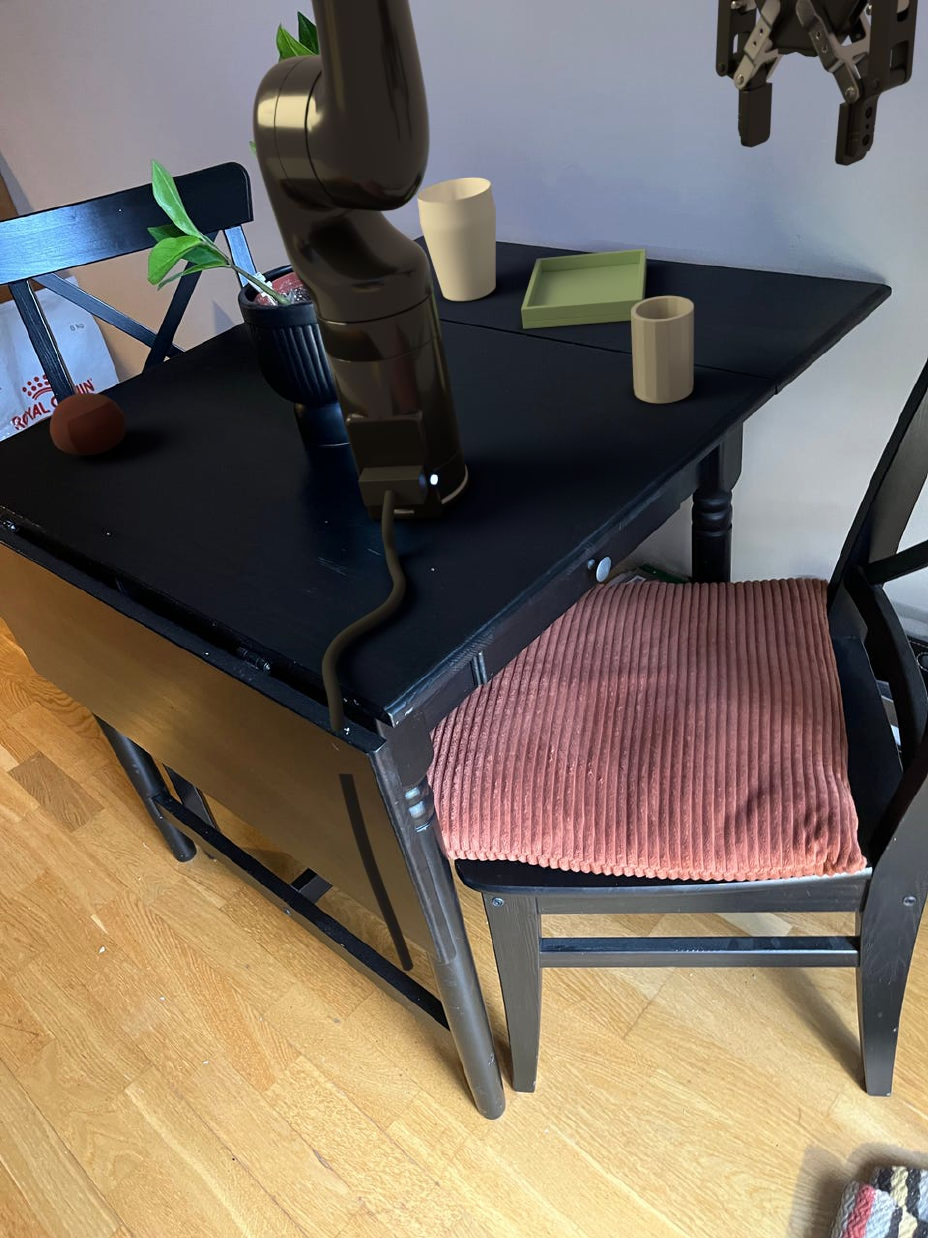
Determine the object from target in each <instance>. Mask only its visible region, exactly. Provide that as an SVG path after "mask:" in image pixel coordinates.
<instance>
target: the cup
mask: <svg viewBox="0 0 928 1238" xmlns="http://www.w3.org/2000/svg"><path fill="white" fill-rule="evenodd" d="M493 195H494V194H493V190H492V183H491V182H490V180H488V179H486V178H482V177H461V178H453V179H449V180H444V181H440V182H437V183H434V184H431V185H429V186H426V187H425V188H423V189H422V190H420V191H418V192H417V194H416V199H417V205H418V214H419V223H420V227H421V231H422V235H423V237H424V240H425V243H426V246H427V249H428V252H429V255H430V259H431V262H432V265H433V268H434V271H435V274H436V278H437V281H438V284H439V287H440V291H441V293H442V296H443V297H444V298H445V299H447V300H449V301H452V302H469V301H474V300H478V299H481V298H484V297H486V296H487V295H489V294H491V293H492V292H493V291H494V290H495V289H496V273H497V272H496V263H497V261H496V259H497V258H496V255H497V251H496V250H497V249H496V248H497V247H496V245H497V244H496V241H497V239H496V238H497V235H496V234H497V233H496V232H497V231H496V228H497V227H496V226H497V215H496V214H497V212H496V211H497V210H496V204H495V200H494V196H493Z"/></svg>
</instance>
